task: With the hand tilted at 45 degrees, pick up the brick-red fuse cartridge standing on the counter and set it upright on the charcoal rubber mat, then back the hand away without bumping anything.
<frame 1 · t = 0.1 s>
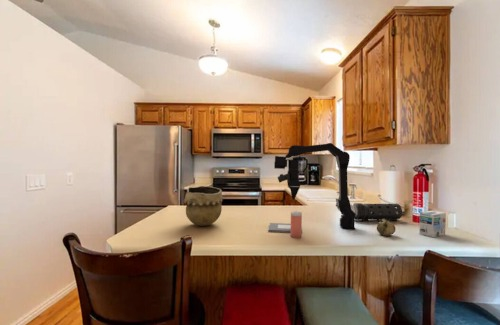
hand: (293, 198, 142), 15 cm above the countertop, tool pointing down, fingers open, 9 cm apart
onion: (385, 235, 126), on the countertop
muzzle brake: (374, 221, 156), on the countertop
clay pot: (203, 225, 140), on the countertop
mat: (284, 228, 136), on the countertop
fuse cartridge: (295, 236, 122), on the countertop
light bulb box: (432, 235, 128), on the countertop
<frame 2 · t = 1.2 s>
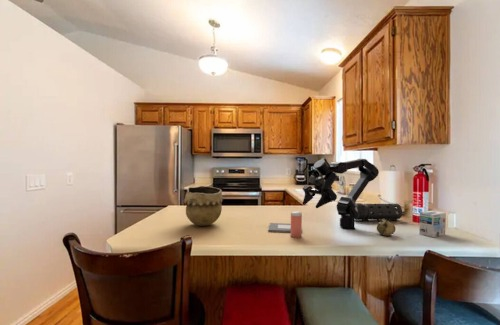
hand: (309, 206, 126), 13 cm above the countertop, tool tilted 45°, fingers open, 9 cm apart
nothing on the countertop moved.
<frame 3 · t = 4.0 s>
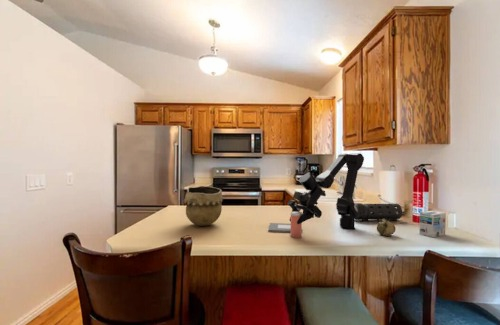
hand: (293, 222, 122), 7 cm above the countertop, tool tilted 45°, fingers closed on fuse cartridge, 5 cm apart
fuse cartridge: (295, 236, 122), on the countertop, touching gripper
everything else where it was.
when the fingers open (9 cm above the countertop, at t = 7.9 s): fuse cartridge drops 1 cm, resting on mat.
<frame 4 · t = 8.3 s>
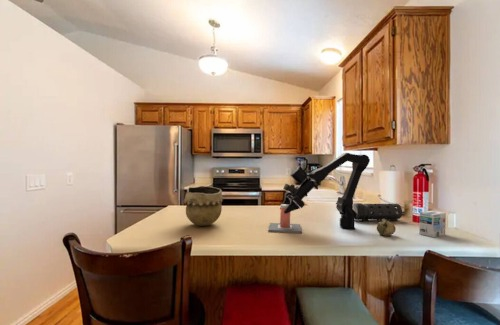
hand: (282, 211, 135), 9 cm above the countertop, tool tilted 45°, fingers open, 9 cm apart
fuse cartridge: (284, 226, 135), point 1 cm above the countertop, touching mat
everything else where it was.
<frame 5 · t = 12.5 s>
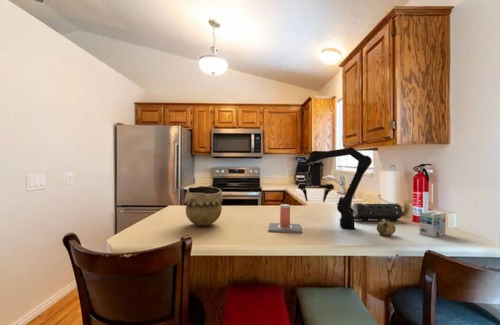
hand: (315, 202, 147), 12 cm above the countertop, tool pointing down, fingers open, 9 cm apart
nothing on the countertop moved.
at the end: fuse cartridge inside the target area on the mat (0.0 cm from its centre), point 1.1 cm above the mat's base; fuse cartridge tilted 0°; the gripper is holding nothing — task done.
